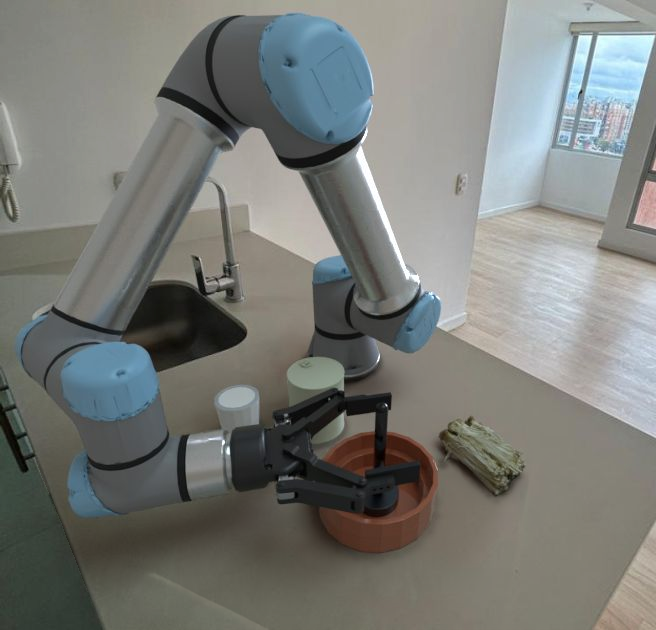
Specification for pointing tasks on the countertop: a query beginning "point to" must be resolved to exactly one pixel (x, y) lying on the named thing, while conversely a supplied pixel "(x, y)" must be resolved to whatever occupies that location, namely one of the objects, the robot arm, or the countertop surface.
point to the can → (316, 388)
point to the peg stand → (386, 500)
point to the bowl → (412, 501)
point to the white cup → (237, 406)
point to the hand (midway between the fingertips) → (403, 432)
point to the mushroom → (482, 453)
